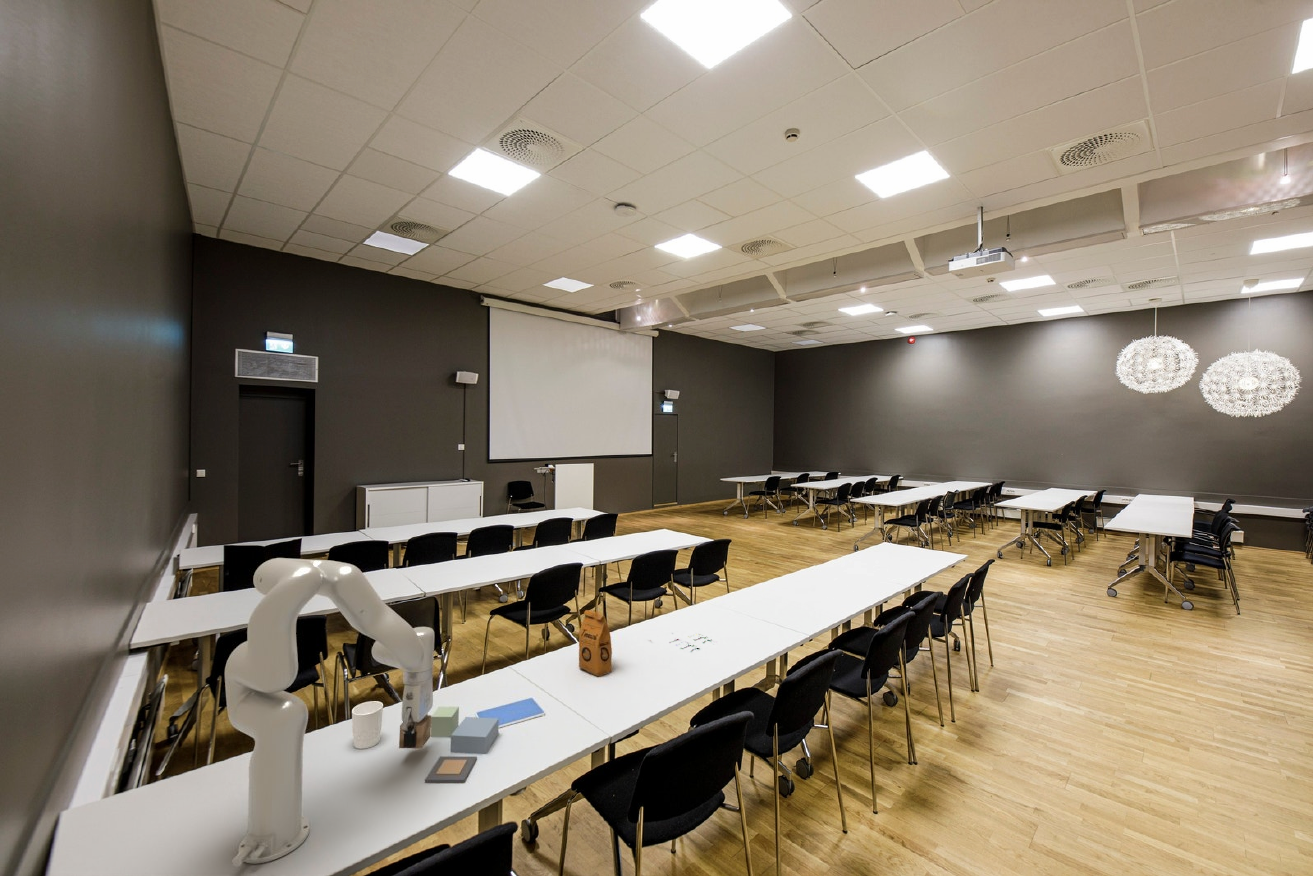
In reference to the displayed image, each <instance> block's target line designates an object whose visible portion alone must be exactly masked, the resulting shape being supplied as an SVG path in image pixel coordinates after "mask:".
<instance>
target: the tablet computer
mask: <svg viewBox="0 0 1313 876" xmlns="http://www.w3.org/2000/svg"><path fill="white" fill-rule="evenodd" d="M545 715H546V712H545V710H544V709H543V708H542V707H541V706H540V704H539V703H538V702H537V701H536V700H535V698H534V697H529V698H526V699H525V698H524V699H522V700H518V701H514V702H511V703H506V704H503V705H499V706H495V707H491V708H487V709H484V710H481V711H477V712H475V714H474V717H478V718H498V719H499V727H498V729H502V728H505V727H507V726H512V725H515V724H518V723H521V722H525V721H528V720H532V719H536V718H539V717H542V716H545Z"/></svg>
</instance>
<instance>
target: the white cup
mask: <svg viewBox="0 0 1313 876" xmlns="http://www.w3.org/2000/svg"><path fill="white" fill-rule="evenodd" d="M383 710H384V704H383V702H381V701H378V700H377V701H375V700H374V701H372V700H370V701H365V702H362V703H358V704H357V705H356V706H354V707H353V708H352V709H351V719H352V720H351V723H352V726H351V727H352V737H353V747H354V748H355V749H359V750H363V749H369V748H372V747H374V746H376V745H378V743H379V742H380V741H381V732H382V725H383V712H384V711H383Z"/></svg>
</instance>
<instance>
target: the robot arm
mask: <svg viewBox="0 0 1313 876" xmlns="http://www.w3.org/2000/svg"><path fill="white" fill-rule="evenodd" d="M252 583H253V585H254V587H255V590H256V591H257V592H258V593H260V594H262V595H264V597H263V598H262V599H261V600H260V602H259V603H258V604H257V605H256V607H255V608H254V609H253V611H252V613H251V614H250V617H249V620H248V623H247V631H246V634H247V638H246V639H247V640H246V641H244V642H242V643H240V644H239V645H238V646H236V648H234V649H233V651H231V653H230V654H229V657H228V659H227V660H226V664H225V667H224V683H225V685H224V687H225V698H226V699H225V701H226V710H227V715H228V716H227V717H228V720H229V722H230V725H232V727H233V728H234V729H236V730H237V731H240V732H241V733H243V734H246V735H247V736H249V737H251V738H253V740H254V748H253V751H252V753H251V756H250V759H249V766H248V797H247V798H248V803H247V804H248V808H247V810H248V811H247V813H248V815H247V835H246V836H245V837H243V839H242V841H240V842H239V845H238V849H237V852H238V853H237V854H236V855H235V856H234V857H233V858H232V860H231V864H232V866H233V867H240V866H241V865H242V864H243V863H247V864H263V863H267V862H271V861H274V860H276V859H280V858H281V857H284V856H286V855H287V854H289V853H291V852H293V851H294V850H295V849H297V848H299V847H300V846H301V845H302V844H303V843H304V842H305V841H306V839H307V837H308V836H309V834H310V830H311V824H310V821H309V820H308V819H307V818H305V817H303V816H302V815H303V814H302V812H303V770H304V769H303V767H304V766H303V765H304V764H303V759H304V756H303V753H304V740H305V734H306V731H307V730H306V729H307V725H308V721H309V720H308V719H309V710H308V709H309V708H308V707H307V705H306V703H305V702H304V701H303V700H302V698H300V697H298V696H296V695H295V694H292V693H290V692H288V691H285V690H287V688H289V687H291V685H292V684H293V683H294V681H295V680H296V678H297V675H298V671H299V662H298V646H297V645H298V644H297V634H296V633H297V622H298V621H297V620H298V617H299V615H300V613H301V611H302V610H303V609H304V607H305V606H306V605H307V604H308V603H309V602H310V601H311V600H312V599H313V598H314V597H315V596H316V595H318V596H322V597H326V598H328V599H330V600H331V602H332V603H333V604H334V606H335V607H336V608H337V609H338V611H339V612H340V613H341V614H342V616H343V617H344V618H345V619H346V621H347V622H348V623H349V625H350V626H351V627H352V629H353V628H354V629H355V630H356V631H358V632H359V633H361V634H362V635H364V636H367V637H369V638H370V639H373V640H375V641H374V642H373V646H371V655H372V657H373V659H374V660H375V661H376V662H378V663H380V664H383V665H386V666H389V667H393V668H396V669H400V670H402V673H403V675H402V683H403V684H404V686H403V694H402V703H401V721H402V723H401V724H402V726H401V727H402V729H403V733H404V742H403V747H404V748H403V749H412V748H415V746H416V736H417V732H415V730H416V724H417V722H420V721H421V720H422V719H423V718H424V717H425V716H426V715H429V714H428V713H429V712H430V711H431V710H432V708H433V703H434V695H433V693H434V691H433V690H434V688H433V685H434V684H433V674H434V673H433V672H434V651H435V631H434V629H433V628H432V627H427V626H417V627H414V628H413V627H412V625H410V624H409V623H408V622H407V621H406V620H405V619H404V618H402V617H401V615H399V614H398V613H397V612H395V610H393V609H392V608H391V606H388V605H387V604H386V603H385V602H384V601H383V599H382V598H381V597H380V595H379V594H378V592H377V590H375V588H374V587H373V585H372V584H371V582H370V581H369V580H368V579H367V578H366V575H364V573H363V572H362V571H361V569H360V568H358V567H357V566H356V565H354V564H353V563H352V564H351V563H349V562H348V563H347V562H342V561H335V560H328V559H327V560H326V559H303V558H290V557H289V558H285V557H276V558H271V559H269V560H266V561H265V562H263V563H262V564H260V565H259V566H258V567H257V569H256V570H255V572H254V575H253V582H252ZM410 718H413V720H410ZM409 723H413V727H411V726H409Z"/></svg>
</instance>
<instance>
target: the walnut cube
mask: <svg viewBox="0 0 1313 876" xmlns="http://www.w3.org/2000/svg"><path fill="white" fill-rule="evenodd" d="M431 716H432V715H429V714H428V715H426V716H425V717H424V718H423V719H422V720H421V721H420V722H417V724H416V730H415V732H417V736H416V746H415V748H411V749H413V750H415V749H417V750H420V749H422V748H424V746H425V745H426V743H427V742H428V741H429V739H431ZM410 720H413V718H410ZM401 726H402V723H401V724H400V725H399V742H398V748H399V749H405V748H404V747H403V742H404V733H403V729H402V727H401ZM409 726H411V727H413V723H409Z"/></svg>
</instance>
